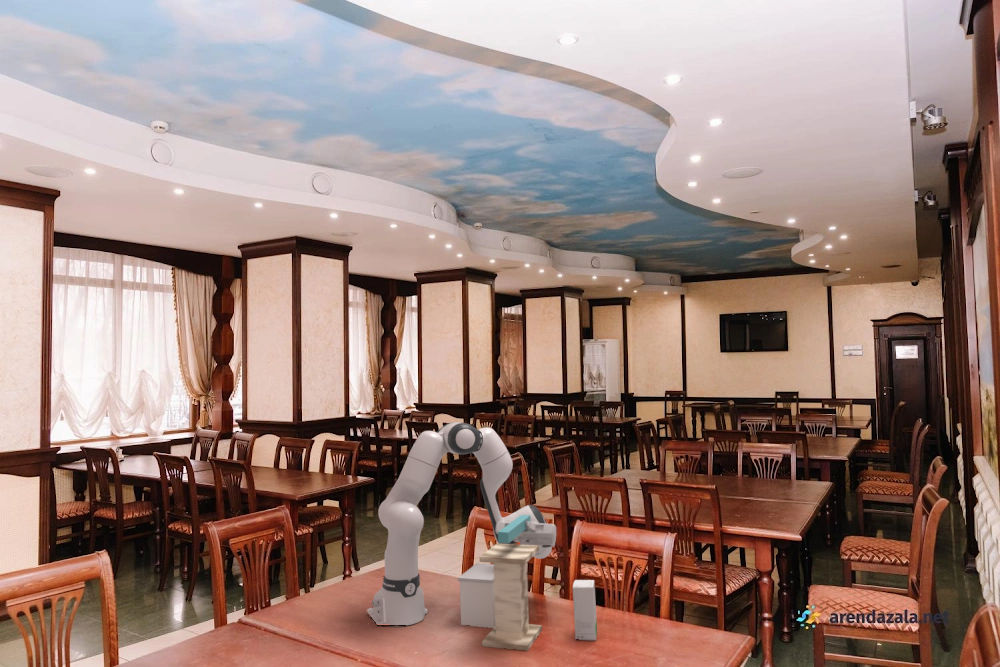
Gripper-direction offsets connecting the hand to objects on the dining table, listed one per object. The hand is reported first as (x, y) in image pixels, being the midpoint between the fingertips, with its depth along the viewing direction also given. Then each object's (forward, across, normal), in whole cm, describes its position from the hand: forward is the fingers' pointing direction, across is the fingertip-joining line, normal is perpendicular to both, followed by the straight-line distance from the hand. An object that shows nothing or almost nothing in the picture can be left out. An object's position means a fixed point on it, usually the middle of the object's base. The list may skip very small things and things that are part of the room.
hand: (520, 523), depth 214 cm
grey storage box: (-18, -14, +26) cm, 35 cm away
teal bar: (+4, 0, +4) cm, 6 cm away
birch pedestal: (-6, 0, +33) cm, 34 cm away
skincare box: (-13, +21, +30) cm, 39 cm away
